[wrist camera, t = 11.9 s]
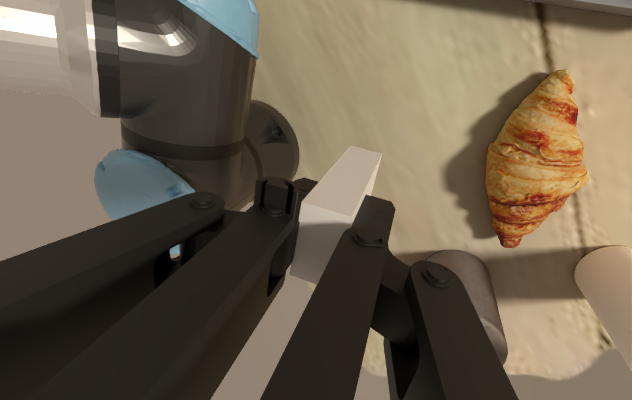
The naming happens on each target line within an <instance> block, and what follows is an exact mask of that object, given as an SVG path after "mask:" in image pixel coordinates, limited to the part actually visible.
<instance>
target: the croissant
mask: <svg viewBox="0 0 632 400" xmlns="http://www.w3.org/2000/svg"><path fill="white" fill-rule="evenodd" d="M574 83H575V82H574V80H573V79H572V77H571V75H570V73H569V72H568V71H567V69H565V70H558V71H556V72H554V73H552V74H551V75H549V76H548V77H547V78H546V79H545V80H544V81H542V82H541V83H540V85H538V87H537V88H536V89H535V90H534V91H533V92H532V93H531V94H530V95H529V96H527V97H526V98H525V99H524V100H523V101H522V102H521V104H520V105H519V107H518V108H517V109H515V110H514V111H513V112H512V114H511V116H510V117H509V118H508V119H507V121H506V122H505V124H504V126H503V128H502V130H501V132H500V133H499V135H498V137H497V139H496V141H495V142H492V143H490V145H489V146H488V150H487V158H486V159H487V162H486V178H485V185H486V191H487V195H488V200H489V206H490V210H491V212H492V215H493V221H492V224H493V228H494V230H495V232H496V233H497V235H498V238H499V240H500V244H501V245H502V246H503V247H505V248H515V247H516V246H518V245H519V244H520V241H521V238H522V236H524V235H526V234H529V233H531V232H533V231H534V229H535V228H537V227H539V225H540V224H541V223H542V222H543V221H544V220H545V218H547V217H548V215H549V214H550V213H551V212H553V211H555V212H557V211H558V210H559V209H560V208H561V207H563V206H564V204H565V201H566V200H567V198H568V197H569V195H571V194H572V193H574V192H576V191H577V190H579V189H580V188H581V187H582V186H583V185H584V184H585V183H586V182H587V181H588V180H589V172H588V171H587V169H586V167H585V166H584V165H583V164H582V163H581V161H582V159H583V149H584V145H583V142H582V141H581V140H580V139H579V135H578V133H577V128H576V122H577V115H578V108H577V105H576V104H575V103H574V97H573V96H572V95H571V93H572V91H573V88H574Z"/></svg>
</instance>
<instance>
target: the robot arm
mask: <svg viewBox="0 0 632 400" xmlns="http://www.w3.org/2000/svg"><path fill="white" fill-rule="evenodd" d="M259 21H260V18H259V12H258V9H257V7H256V5H255V3H254V2H253V0H0V90H1V91H15V92H27V93H41V94H53V95H65V96H69V97H71V98H73V99H75V100H76V101H78V102H79V103H80V104H81V105H82V106H84V107H85V108H86V109H87V110H88V111H90V112H91V113H92V114H93V115H94V116H97V117H109V118H121V136H122V149H120V150H119V149H117V150H114V151H111V152H110V153H108V155H107V156H106V157H104V158H103V160H102V161H101V162H99V164H98V165H97V167H96V169H95V178H94V182H95V188H96V192H97V195H98V198H99V200H100V202H101V204H102V206H103V208H104V210H105V211H106V213H107V214H108V216H109V217H110V218H111V219H112V221H111V222H108V223H106V224H103V225H100V226H97V227H95V228H92V229H89V230H86V231H83V232H81V233H78V234H75V235H73V236H70V237H67V238H64V239H61V240H58V241H56V242H53V243H50V244H47V245H45V246H42V247H39V248H36V249H34V250H31V251H28V252H25V253H22V254H20V255H17V256H14V257H12V258H9V259H6V260H3V261H0V400H210V399H211V397H212V396H213V394H214V393H215V391H216V389H217V388H218V386H219V385H220V383H221V381H222V380H223V379H224V377H225V375H226V374H227V372H228V371H229V369H230V368H231V366H232V364H233V363H234V361H235V360H236V358H237V356H238V355H239V353H240V352H241V350H242V349H243V347H244V345H245V344H246V342H247V341H248V339H249V337H250V336H251V334H252V333H253V331H254V330H255V328H256V327H257V325H258V323H259V322H260V320H261V319H262V317H263V315H264V314H265V312H266V311H267V309H268V308H269V306H270V304H271V303H272V301H273V300H274V298H275V297H276V295H277V293H278V292H279V290H280V289H281V287H282V285H283V283H284V280H285V274H286V270H287V268H288V267H289V265H290V264H291V270H290V275H292V276H295V277H298V278H301V279H303V280H306V281H309V282H312V283H315V284H317V286H316V288H315V290H314V292H313V294H312V296H311V299H310V300H309V302H308V304H307V306H306V309H305V310H304V312H303V314H302V316H301V318H300V320H299V322H298V324H297V326H296V328H295V330H294V332H293V334H292V337H291V338H290V340H289V342H288V345H287V346H286V348H285V351H284V352H283V354H282V356H281V359H280V361H279V363H278V365H277V367H276V369H275V371H274V373H273V375H272V377H271V379H270V381H269V383H268V385H267V387H266V389H265V391H264V393H263V395H262V397H261V399H260V400H354V396H355V391H356V387H357V383H358V378H359V373H360V369H361V365H362V361H363V356H364V352H365V348H366V343H367V339H368V334H369V330H370V327H371V328H372V329H373V330H375V331H376V332H378V333H379V334H381V335H382V336H384V343H383V344H384V352H385V360H386V368H387V376H388V384H389V392H390V400H519V399H518V398H517V396H516V394H515V391H514V389H513V387H512V385H511V383H510V381H509V379H508V377H507V374H506V372H505V370H504V368H503V366H502V364H501V362H500V360H499V358H498V356H497V354H496V351H495V349H494V347H493V345H492V343H491V341H490V339H489V337H488V335H487V333H486V331H485V329H484V326H483V324H482V322H481V320H480V318H479V316H478V314H477V312H476V310H475V308H474V306H473V303H472V301H471V299H470V297H469V295H468V293H467V291H466V289H465V287H464V285H463V283H462V281H461V280H460V278H459V277H458V276H457V275H456V274H455V273H454V272H453V271H451V270H450V269H449V268H447V267H445V266H443V265H441V264H439V263H435V262H431V261H419V262H415V263H414V264H413V265H412V266H411V267H409V266H408V265H406V264H404V263H402V262H401V261H399V260H398V259H397V258H395V257H394V256H393V255H392V253H391V252H390V251H389V248H388V240H389V235H390V231H391V226H392V222H393V218H394V213H395V207H394V206H393V204H392V202H390V201H387V200H383V199H380V198H377V197H373V196H371V193H372V189H373V185H374V182H375V178H376V174H377V171H378V167H379V163H380V160H381V156H382V154H381V153H377V152H373V151H370V150H366V149H362V148H358V147H354V146H350V147H349V148H348V149H347V150H346V151H345V153H344V154H343V155H342V156H341V157H340V158H339V159H338V161H337V162H336V163H335V164H334V165H333V166H332V168H331V169H330V170H329V171H328V172H327V173H326V174H325V176H324V177H323V178H322V179H321V180H320V181H319V182H317V181H314V180H310V179H307V178H302V179H298V180H295V181H294V182H292V179H293V178H294V176H295V174H296V172H297V168H298V164H299V147H298V142H297V139H296V136H295V133H294V131H293V129H292V127H291V126H290V124H289V123H288V121H287V120H286V119H285V118H284V117H283V115H282V114H281V113H279V112H278V111H277V110H276V109H274V108H273V107H271V106H270V105H268V104H266V103H263V102H260V101H256V100H251V93H252V87H253V80H254V73H255V66H256V59H258V57H259V54H258V52H257V45H258V33H259ZM253 201H254V205H253V206H251V207H250V208H249V209H248V210H247V211H246V212H240V210H241V209H242V208H243V207H245V206H246V205H247V204H248V203H249V202H253ZM170 254H180V256H178V257H176V258H173V259H171V258H170Z"/></svg>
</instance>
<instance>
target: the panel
mask: <svg viewBox="0 0 632 400" xmlns="http://www.w3.org/2000/svg"><path fill="white" fill-rule="evenodd" d="M522 1H529V2H536V3H543V4H550V5H556V6H563V7H570V8H577V9H584V10H591V11H597V12H604V13H611V14H618V15H625V16H632V0H522Z"/></svg>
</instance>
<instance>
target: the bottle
mask: <svg viewBox="0 0 632 400" xmlns="http://www.w3.org/2000/svg"><path fill="white" fill-rule="evenodd" d="M574 277H575V281H576V283H577V285H578V287H579V288H580V290H581V292H582V293H583V295H584V296H585V298H586V300H587V301H588V303H589V304H590V306H591V308H592V309H593V311H594V312H595V314H596V315H597V317H598V319H599V320H600V322H601V323H602V325H603V327H604V328H605V330H606V331H607V333H608V334H609V336H610V338H611V339H612V341H613V342H614V344H615V346H616V347H617V349H618V350H619V352H620V353H621V355H622V357H623V358H624V360H625V361H626V363H627V365H628V366H629V368H630V369H631V371H632V248H630V247H625V246H609V247H604V248H600V249H597V250H594V251H592V252H590V253H588V254H587V255H585V256H584V257H583V258H582V259H581V260H580V261H579V262H578V264H577V266H576V268H575V272H574Z"/></svg>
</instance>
